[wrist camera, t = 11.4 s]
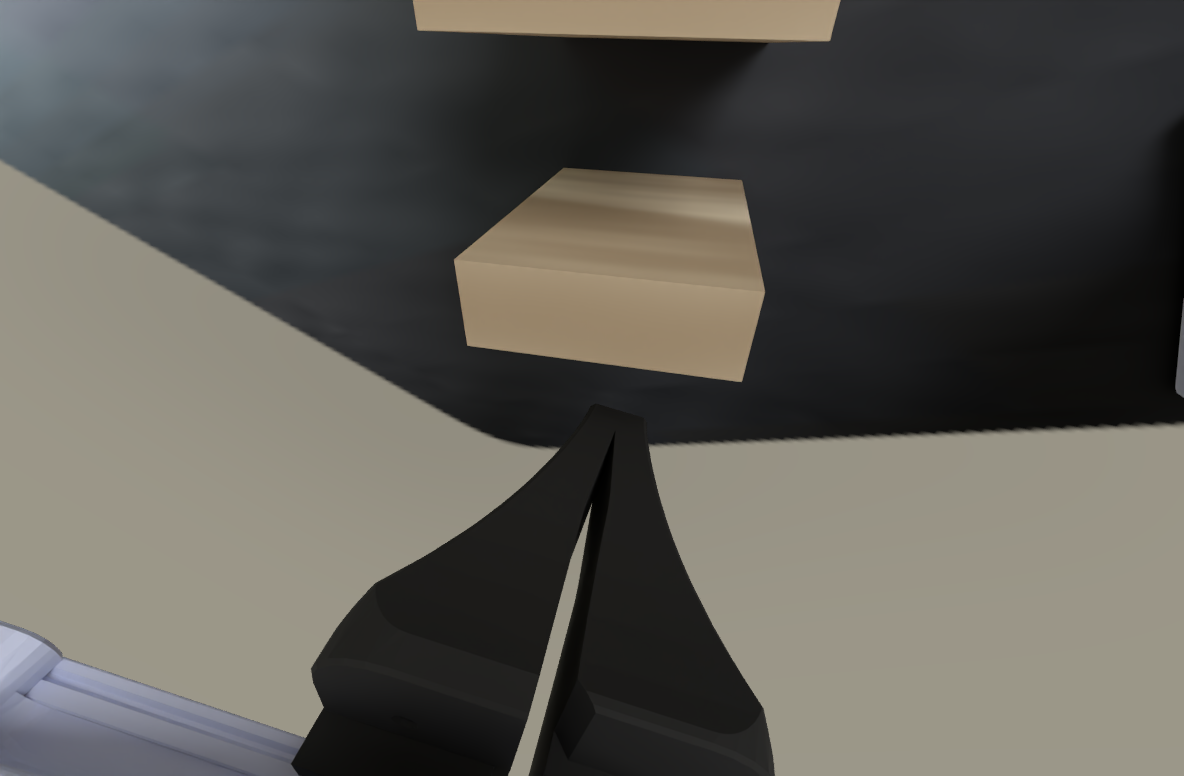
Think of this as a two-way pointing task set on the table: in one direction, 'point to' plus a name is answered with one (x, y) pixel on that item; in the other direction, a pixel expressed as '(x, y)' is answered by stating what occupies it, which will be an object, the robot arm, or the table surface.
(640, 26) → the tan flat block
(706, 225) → the domino
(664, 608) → the robot arm
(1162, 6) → the table surface
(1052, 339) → the table surface
